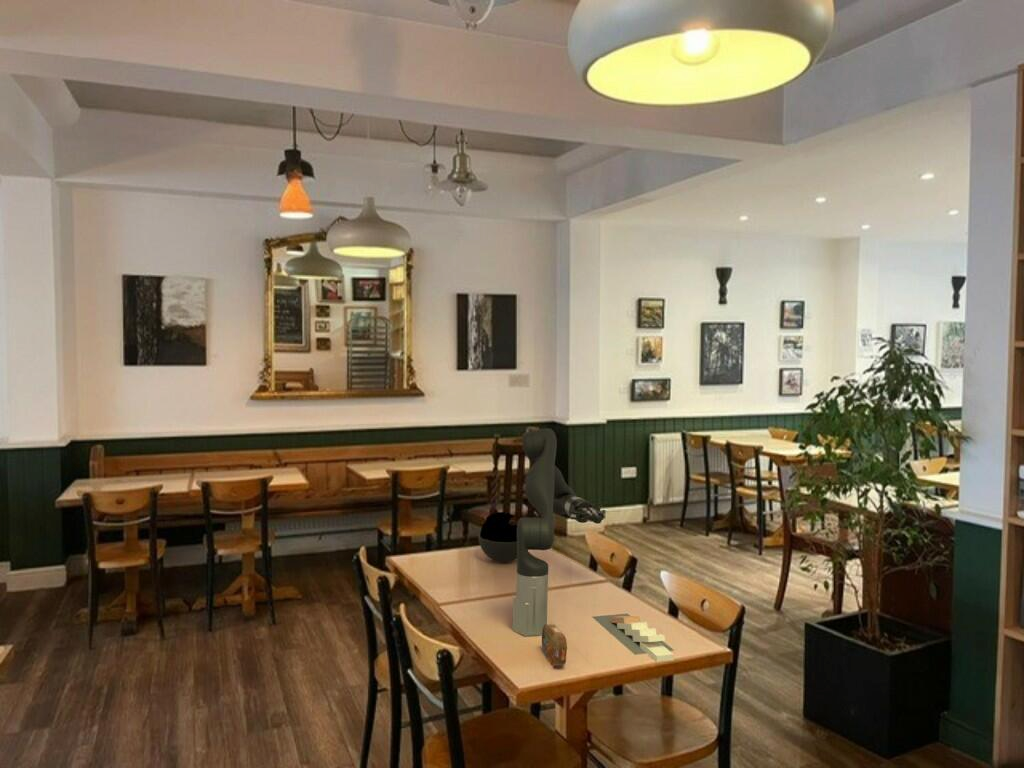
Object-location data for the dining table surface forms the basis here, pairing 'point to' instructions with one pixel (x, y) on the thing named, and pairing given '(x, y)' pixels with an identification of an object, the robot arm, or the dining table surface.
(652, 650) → the domino
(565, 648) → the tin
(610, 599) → the dining table surface
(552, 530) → the robot arm
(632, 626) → the domino
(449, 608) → the dining table surface
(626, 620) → the domino
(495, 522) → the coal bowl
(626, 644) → the mat
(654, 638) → the domino
